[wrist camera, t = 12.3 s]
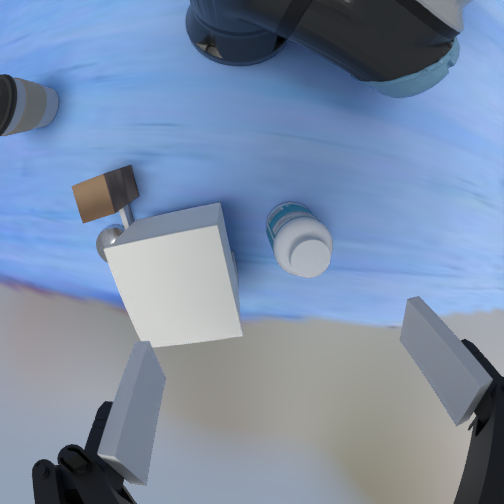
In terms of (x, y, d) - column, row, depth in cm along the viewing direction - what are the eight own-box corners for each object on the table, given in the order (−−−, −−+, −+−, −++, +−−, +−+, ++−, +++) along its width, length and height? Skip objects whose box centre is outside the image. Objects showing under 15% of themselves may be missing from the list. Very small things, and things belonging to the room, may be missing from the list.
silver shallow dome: (96, 231, 43) (90, 236, 40) (125, 218, 42) (119, 223, 40) (112, 262, 45) (106, 269, 43) (140, 251, 45) (136, 257, 42)
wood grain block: (103, 174, 39) (71, 186, 30) (130, 164, 39) (103, 173, 30) (130, 258, 45) (108, 288, 36) (157, 252, 45) (139, 282, 35)
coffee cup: (22, 132, 34) (-37, 140, 21) (32, 82, 31) (-26, 76, 17) (58, 135, 36) (-2, 142, 22) (69, 81, 33) (12, 70, 19)
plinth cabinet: (144, 210, 42) (103, 248, 27) (222, 193, 42) (217, 225, 27) (167, 286, 47) (144, 348, 33) (239, 274, 47) (243, 335, 32)
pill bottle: (306, 249, 46) (332, 292, 34) (261, 243, 45) (272, 286, 33) (317, 204, 43) (349, 233, 31) (269, 196, 42) (285, 223, 30)
